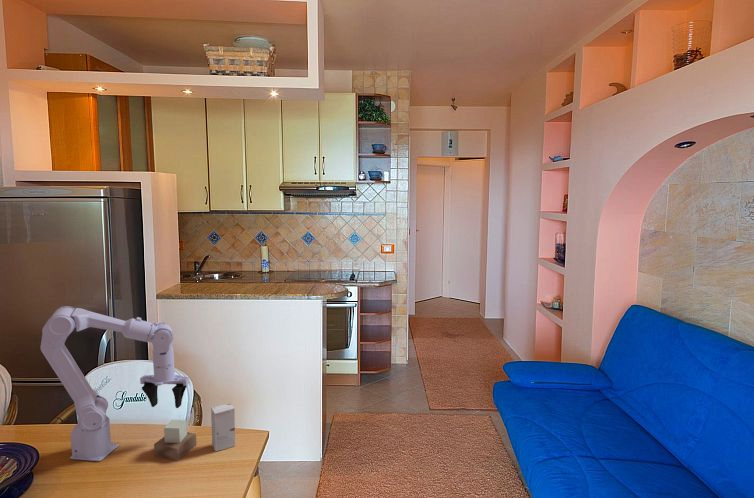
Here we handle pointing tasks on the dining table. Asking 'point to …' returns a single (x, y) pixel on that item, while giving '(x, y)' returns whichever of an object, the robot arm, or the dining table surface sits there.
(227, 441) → the skincare box
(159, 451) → the walnut block
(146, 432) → the dining table surface
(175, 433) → the sage cube
